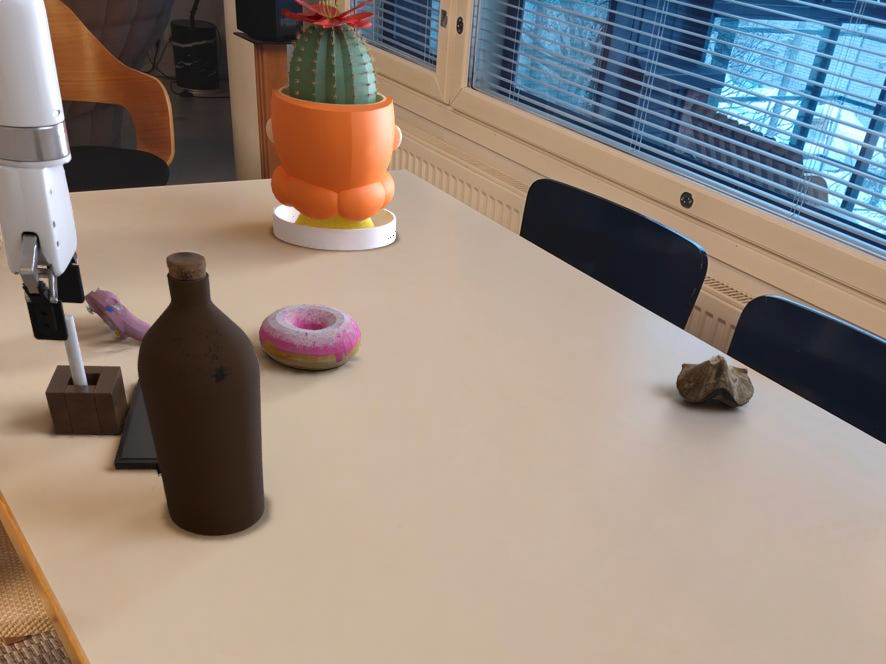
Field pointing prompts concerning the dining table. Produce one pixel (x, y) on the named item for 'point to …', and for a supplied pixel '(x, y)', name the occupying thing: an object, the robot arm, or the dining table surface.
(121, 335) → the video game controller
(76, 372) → the stylus
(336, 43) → the potted cactus
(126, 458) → the tablet
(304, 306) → the donut
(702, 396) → the fossilized seashell
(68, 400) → the pen holder
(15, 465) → the dining table surface
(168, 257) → the rum bottle
